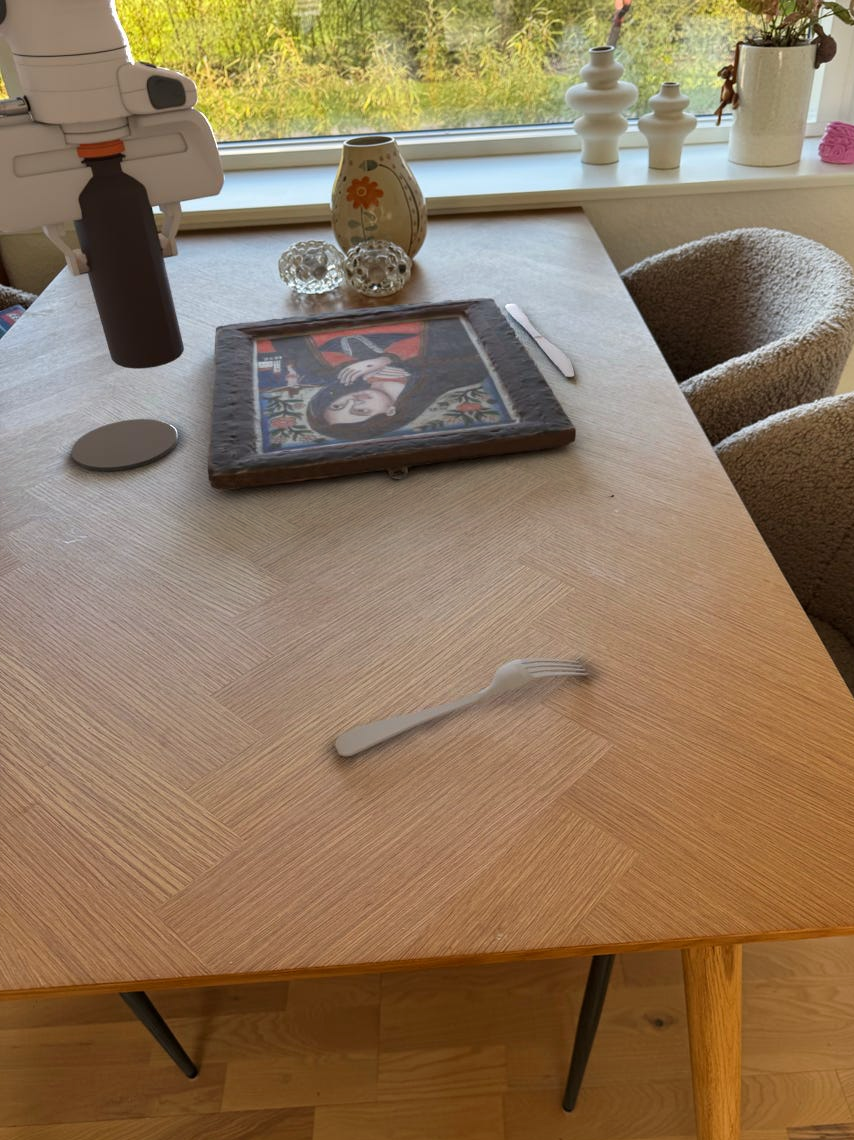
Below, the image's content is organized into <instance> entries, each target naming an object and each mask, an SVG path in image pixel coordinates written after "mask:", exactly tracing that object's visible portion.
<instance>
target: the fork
mask: <svg viewBox="0 0 854 1140" xmlns="http://www.w3.org/2000/svg"><path fill="white" fill-rule="evenodd" d="M578 664H579V665H578ZM585 672H586V669H585V668H583V665H580V662H579V661H577V660H569V659H562V658H553V657H551V658H550V657H526V658H517V659H513V660H512V661H508V662H507V663H505V664H504V665H502V666H500V667H499V668H498V669H497V670H496V672H495V674H494V678H493V679H492V681H491V683H490V684H489V685H488V686H487V687H485V688H484V689H482V690H480V691H478V692H476V693H474V694H470V695H469V696H465V697H463V698H460V699H457V700H453V701H450V702H447V703H444V704H439V705H437V706H434V707H429V708H425V709H421V710H418V711H414V712H409V713H406V714H401V715H398V716H393V717H389V718H383V719H380V720H377V721H373V722H370V723H366V724H361V725H360V726H356V727H355V728H351V729H349V730H348V731H346V732H344V733H341V734H340V735H339V737H337V739H336V741H335V744H334V747H335V749H336V751H337V753H338V755H339V756H342V757H352V756H354V755H356V754H358V753H360V752H362V751H364V750H368V749H369V748H372V747H373V746H375V745H377V744H380V743H383V742H385V741H386V740H388V739H390V738H392V737H395V736H397V735H399V734H402V733H403V732H406V731H408V730H410V729H413V728H414V727H417V726H420V725H422V724H424V723H426V722H429V721H432V720H435V719H436V718H439V717H441V716H444V715H447V714H449V713H453V712H455V711H457V710H461V709H463V708H466V707H469V706H471V705H473V704H475V703H478V702H480V701H482V700H485V699H487V698H488V697H490V696H492V695H494V694H496V693H499V692H511V691H512V690H515V689H518V688H519V687H520V686H522V685H524V684H527V683H529V682H531V681H533V680H537V679H543V678H549V677H567V676H571V677H573V676H575V677H576V676H580V677H582V676H584V677H585V676H587V677H588V676H590V674H589V673H587V672H586V673H585Z"/></svg>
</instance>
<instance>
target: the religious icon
mask: <svg viewBox="0 0 854 1140" xmlns="http://www.w3.org/2000/svg"><path fill="white" fill-rule="evenodd" d="M213 353H214V354H213V373H212V387H211V407H210V422H209V425H210V426H209V444H208V449H207V450H208V451H207V453H208V454H207V474H208V481H209V482H210V487H211V489H215V490H224V491H226V490H227V491H229V490H236V489H245V488H253V487H260V486H267V485H275V484H287V483H293V482H295V483H296V482H303V481H308V480H316V479H326V478H334V477H335V478H336V477H342V476H347V475H356V474H361V473H362V474H363V473H369V472H380V471H388V474H389V476H390V478H392V479H394V480H397V479H398V480H399V479H402V478H404V477H406V476H407V474H408V472H409V471H408V468H410V467H418V466H424V465H431V464H438V463H447V462H453V461H459V460H466V459H473V458H481V457H488V456H489V457H490V456H497V455H503V454H511V453H512V454H513V453H516V454H517V453H522V452H531V451H539V450H545V449H546V450H547V449H553V448H557V447H564V446H567V445H569V444H572V443H574V442H575V441H576V434H577V433H576V432H577V430H576V427H575V426H574V424H573V422H572V421H571V419H570V418H569V417H568V415H567V413H566V412H565V410H564V408H563V406H562V404H561V402H560V401H559V400H558V398H557V397H556V395H555V394H554V391H553V389H552V387H551V386H550V385H549V383H548V381H547V380H546V378H545V376H544V374H543V373H542V372H541V370H540V368H539V367H538V364H536V362H535V360H534V359H533V358H532V356H531V354H530V353H529V351H528V349H527V348H526V347H525V346H524V344H523V342H521V341H520V337H517V335H516V332H515V329H514V327H511V324H510V322H509V321H508V320H507V317H506V316H505V314H504V313H502V310H501V308H500V307H499V306H498V305H497V303H496V302H495V299H494V298H488V297H479V298H468V299H455V300H454V299H446V300H442V301H437V302H431V301H422V302H413V303H407V304H392V305H391V304H389V305H383V306H372V307H364V308H358V309H349V310H341V311H334V312H322V313H314V314H308V315H301V316H290V317H282V318H272V319H265V320H256V321H245V322H238V323H229V324H226V325H218V326H216V327H215V336H214V351H213ZM398 471H399V472H400V471H401V472H403V474H402V475H401V476H399V475H398V476H397V475H395V473H397V472H398Z"/></svg>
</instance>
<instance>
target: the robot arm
mask: <svg viewBox="0 0 854 1140" xmlns="http://www.w3.org/2000/svg"><path fill="white" fill-rule="evenodd" d="M0 37H3V38H4V40H6V41H7V43H8V45H9V48H10V51H11V54H12V57H13V61H14V64H15V69H16V72H17V75H18V78H19V79H18V80H19V82H20V86H21V89H22V93H23V96H18V97H11V98H4V99H0V232H2V233H5V234H6V233H14V232H19V231H25V230H29V229H30V230H31V229H36V228H42V230H43V233H44V235H45V236H46V237H47V238H48V239H49V240H50V241H51V242H52V243H53V244H54V245H55V246H56V247H57V248H58V249H59V250H60V251H61V252H62V253H63V254H64V255H63V256H64V258H65V261H66V264H67V268H68V270H69V273H70V274H71V276H72V277H78V276H79V277H80V276H81V275H82V276H83V275H88V273H90V268H89V266H88V265H87V262H88V260H87V257H86V254H85V253H84V252H82V251H81V248H75V249H72V248H70V247H69V246H68V244H67V243H66V242H65V241H64V240H63V239H62V237H66V236H67V232H66V228H65V223H69V222H70V223H71V222H73V221H76V220H81V219H82V213H81V208H80V205H79V200H78V198H79V195H80V193H81V192H82V190H83V189H84V187H85V186H86V184H87V183H88V182H89V180H90V179H91V178H92V177H93V173H92V170H91V167H86V164H81V161H83V160H84V158H83V157H78V153H77V149H79V148H76V147H80V144H90V143H100V142H107V141H113V140H117V139H120V141H123V143H124V147H125V151H123V152H121V154H124V155H126V157H125V158H122V160H123V161H122V162H120V164H121V168H122V171H123V172H124V173H126V174H128V175H130V176H132V177H133V178H135V179H136V180H137V181H139V182H140V183H142V184H143V185H144V186H145V188H146V190H147V195H148V199H149V202H150V205H151V207H152V208H154V207H155V208H156V207H158V209H159V212H161V213H163V214H164V215H165V216H164V219H163V223H162V227H161V231H160V232H158V236H159V240H160V245H161V249H162V253H163V258H164V259H168V258H172V257H176V256H177V257H178V256H179V250H178V247H177V242H176V241H177V240H176V236H177V234H178V230H179V227H180V225H181V222H182V218H183V210H182V206H181V205H182V204H181V203H182V202H188V201H194V200H198V199H204V198H210V197H216V196H218V195H220V193H221V191H222V190H223V187H224V184H225V174H224V173H225V172H224V167H223V164H222V158H221V155H220V152H219V147H218V144H217V141H216V138H215V135H214V134H215V133H214V132H213V129H212V126H211V125H210V122H209V120H208V119H207V117H206V116H205V114H203V113H202V112H201V111H200V110H198V109H196V108H195V106H197V104H198V101H199V96H198V88H197V85H196V82H195V81H194V80H192V79H191V78H190V77H188V76H187V75H185V74H183V73H180V72H178V71H174V70H172V69H169V68H164V67H161V66H160V67H159V66H157V65H155V64H154V63H150V62H148V61H143V60H141V61H139V62H138V61H134V59H133V57H132V54H131V48H130V45H129V41H128V37H127V34H126V32H125V30H124V28H123V27H122V24H121V22H120V20H119V17H118V13H117V10H116V5H115V0H0Z"/></svg>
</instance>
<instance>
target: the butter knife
mask: <svg viewBox="0 0 854 1140" xmlns="http://www.w3.org/2000/svg"><path fill="white" fill-rule="evenodd" d="M504 308H505V310H506V311H507V312H508V313H509V314H510V315H511V316H512V318H513V319H514V320H515V321H516V322H517V323H518V324H519V325H520V326H522V328H524V329H525V331H526V332H527V333H528V334H530V336H532V338H533V339H534V340H535V342H536V343H537V344H538V345H539V347H540V348H541V349H542V350H543V352H544V353H545V354H546V355H547V357H548V358H549V359H550V361H552V362H553V363H554V365H556V366H557V368H558V369H559V370H560V371H561V373H562V374H563V375H564V376H565V377H566V378H574V377H575V373H574V372H575V371H574V367H573V364H572V361H571V359H570V358H569V357H568V356H567V355H566V354H565V353H564V352H563V351H562V350H560V348H558V347H557V346H556V345H554V344H553V343H551V342H550V341H548V340H547V339H546V338H545V337H544V336H543V335H541V334H540V332H538V331H537V329H536V328H535V327H534V326H533V324H532V323H531V321H530V319H529V317H528V316H527V315H526V314H525V312H524V310H522V308H520V306H519V305H517V304H515V303H507V304H505V306H504Z"/></svg>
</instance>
